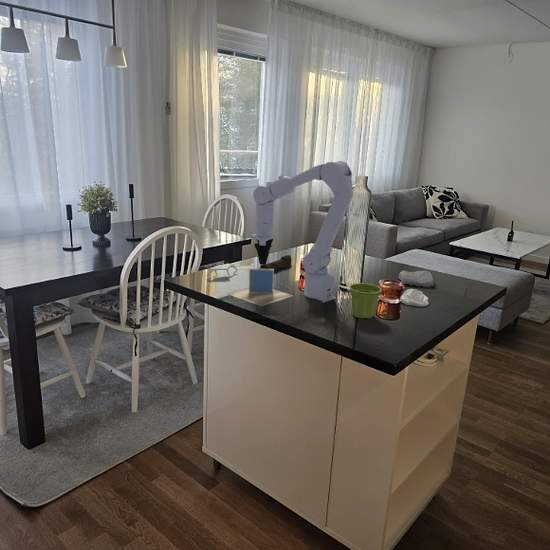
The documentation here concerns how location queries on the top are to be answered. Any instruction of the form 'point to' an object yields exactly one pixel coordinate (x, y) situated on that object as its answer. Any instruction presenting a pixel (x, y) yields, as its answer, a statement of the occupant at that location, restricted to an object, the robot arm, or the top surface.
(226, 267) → the origami figure
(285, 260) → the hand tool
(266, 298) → the board
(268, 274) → the tile
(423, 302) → the white rock
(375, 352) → the top surface
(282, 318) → the top surface
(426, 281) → the stone block
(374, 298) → the plant pot
